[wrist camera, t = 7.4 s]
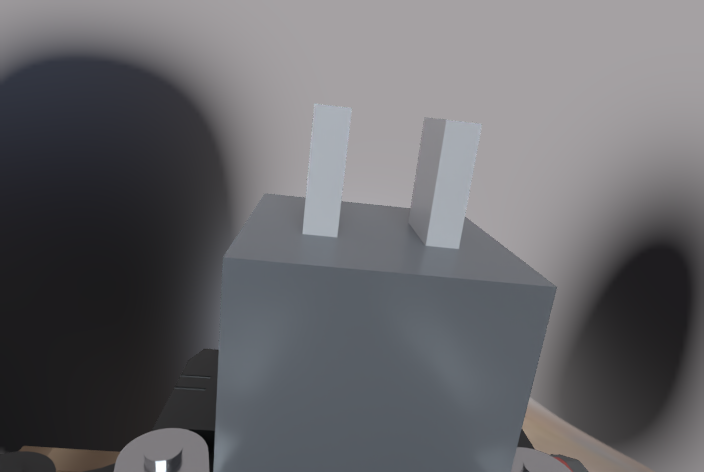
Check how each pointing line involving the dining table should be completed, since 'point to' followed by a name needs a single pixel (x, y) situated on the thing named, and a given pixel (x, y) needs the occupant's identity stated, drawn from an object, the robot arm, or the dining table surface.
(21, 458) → the robot arm
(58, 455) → the tray
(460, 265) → the connector plug
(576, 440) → the dining table surface
